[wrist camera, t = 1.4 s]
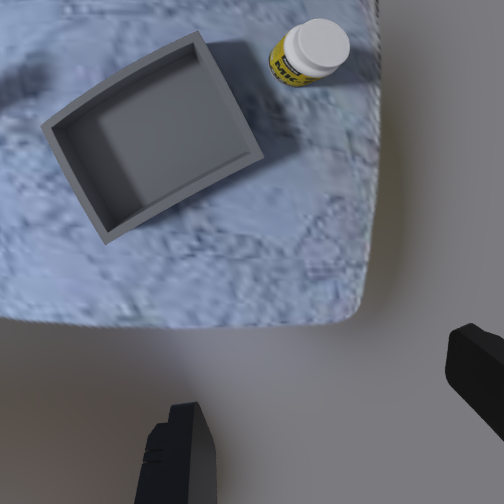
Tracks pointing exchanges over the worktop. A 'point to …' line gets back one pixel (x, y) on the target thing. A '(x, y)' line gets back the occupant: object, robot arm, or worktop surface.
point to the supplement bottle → (309, 53)
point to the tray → (151, 136)
